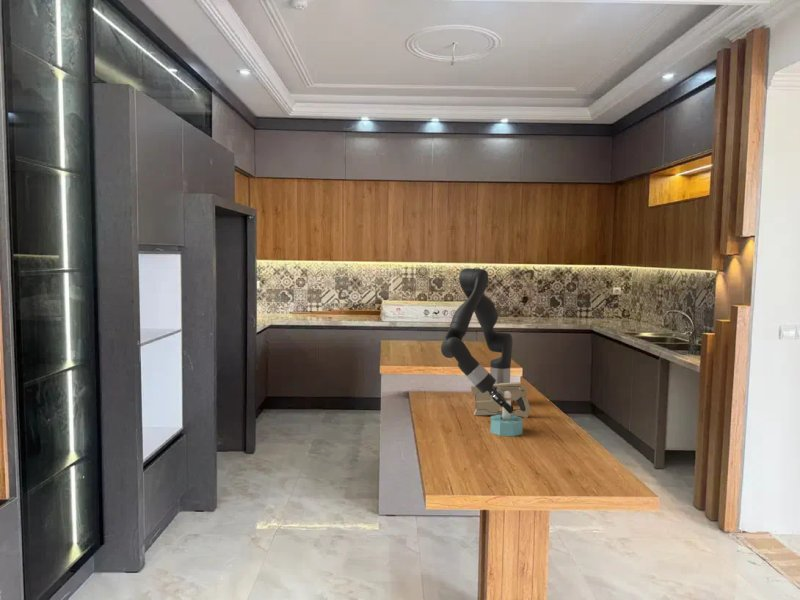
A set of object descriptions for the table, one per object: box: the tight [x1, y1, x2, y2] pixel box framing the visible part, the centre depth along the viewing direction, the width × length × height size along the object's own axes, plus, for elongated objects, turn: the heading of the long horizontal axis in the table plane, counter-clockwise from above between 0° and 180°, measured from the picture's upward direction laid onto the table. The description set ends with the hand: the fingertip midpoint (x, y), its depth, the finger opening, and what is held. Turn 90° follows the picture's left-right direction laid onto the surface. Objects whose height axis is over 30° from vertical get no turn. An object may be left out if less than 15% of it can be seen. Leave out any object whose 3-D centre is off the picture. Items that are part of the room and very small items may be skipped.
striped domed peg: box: [501, 391, 512, 421], centre depth 221 cm, size 3×3×13 cm
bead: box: [490, 414, 524, 437], centre depth 221 cm, size 12×12×5 cm
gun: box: [470, 381, 532, 419], centre depth 243 cm, size 24×3×15 cm, turn 84°
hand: (511, 410), depth 221 cm, fingers closed on striped domed peg, 3 cm apart
